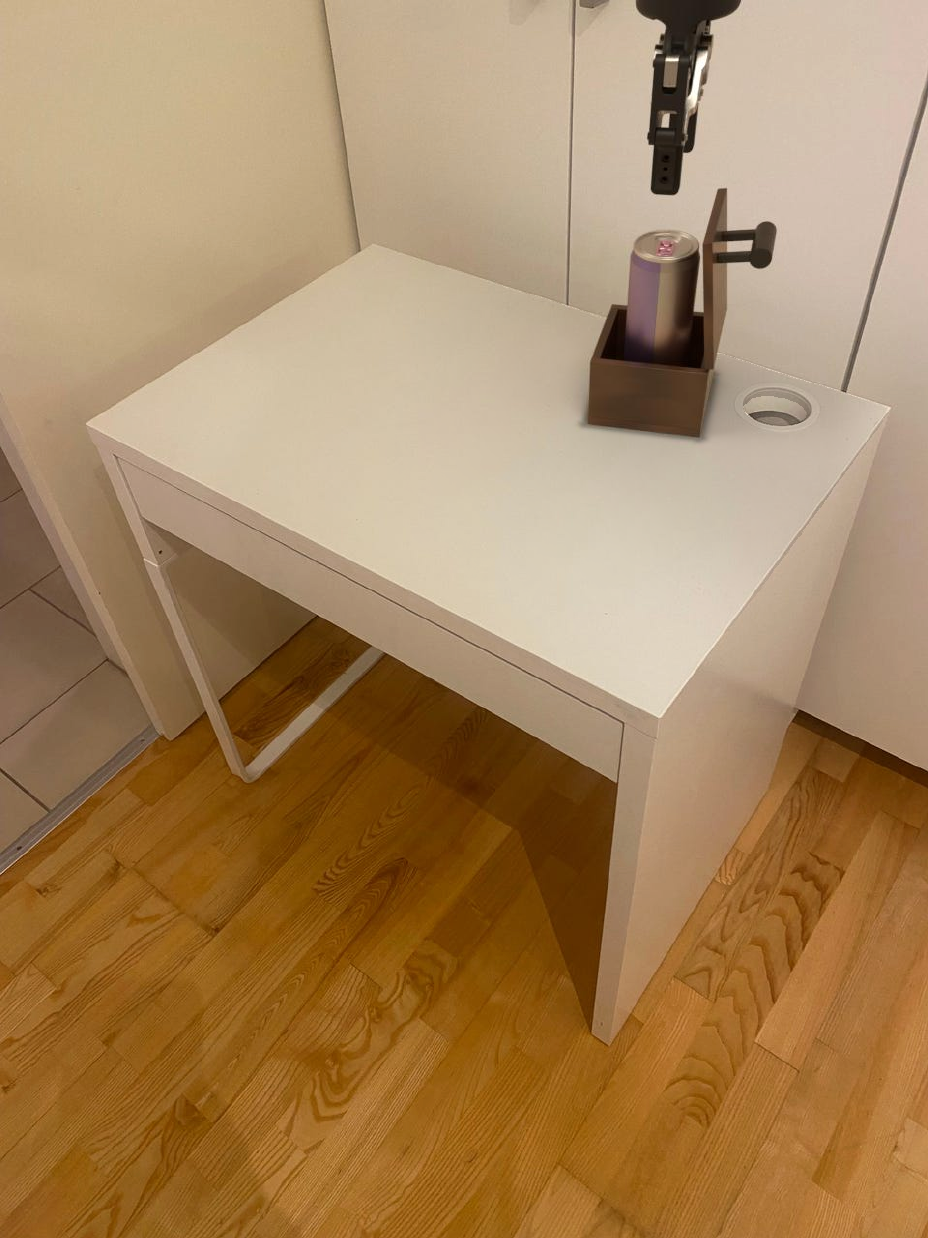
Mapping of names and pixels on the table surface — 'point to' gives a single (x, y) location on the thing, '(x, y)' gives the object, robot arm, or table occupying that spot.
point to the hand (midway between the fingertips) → (672, 171)
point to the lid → (717, 267)
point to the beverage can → (661, 297)
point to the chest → (647, 384)
